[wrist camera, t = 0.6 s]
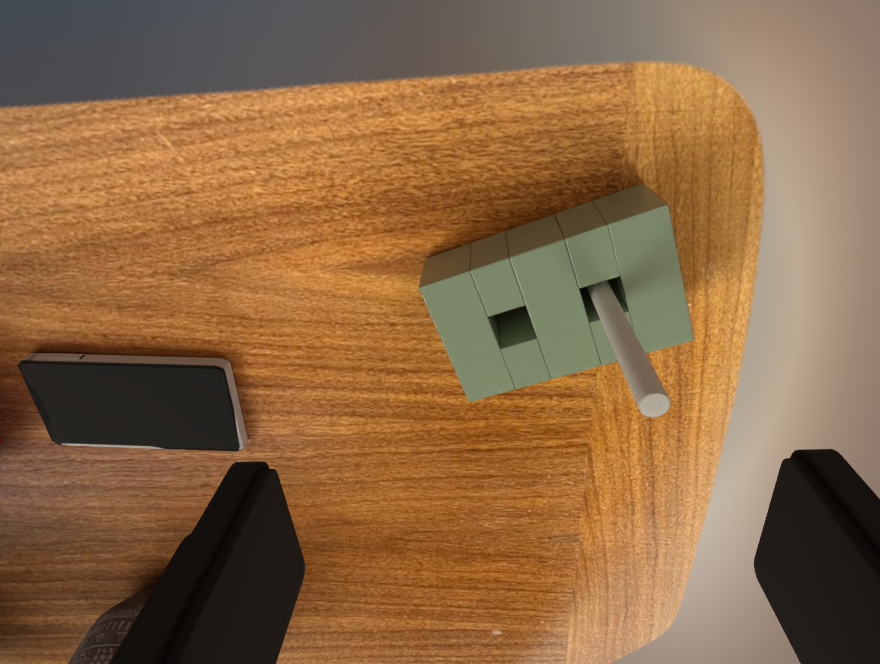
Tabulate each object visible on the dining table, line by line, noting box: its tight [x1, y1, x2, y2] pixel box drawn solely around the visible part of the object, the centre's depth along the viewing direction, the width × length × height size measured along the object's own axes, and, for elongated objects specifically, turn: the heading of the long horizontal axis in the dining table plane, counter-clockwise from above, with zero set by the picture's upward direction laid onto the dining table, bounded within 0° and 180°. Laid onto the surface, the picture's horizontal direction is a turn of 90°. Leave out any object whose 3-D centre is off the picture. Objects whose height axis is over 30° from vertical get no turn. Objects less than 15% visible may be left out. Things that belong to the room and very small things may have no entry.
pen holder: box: [419, 183, 694, 402], centre depth 32 cm, size 13×8×4 cm, turn 111°
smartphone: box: [18, 353, 248, 451], centre depth 40 cm, size 8×1×15 cm
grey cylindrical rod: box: [586, 280, 670, 417], centre depth 27 cm, size 1×1×14 cm
